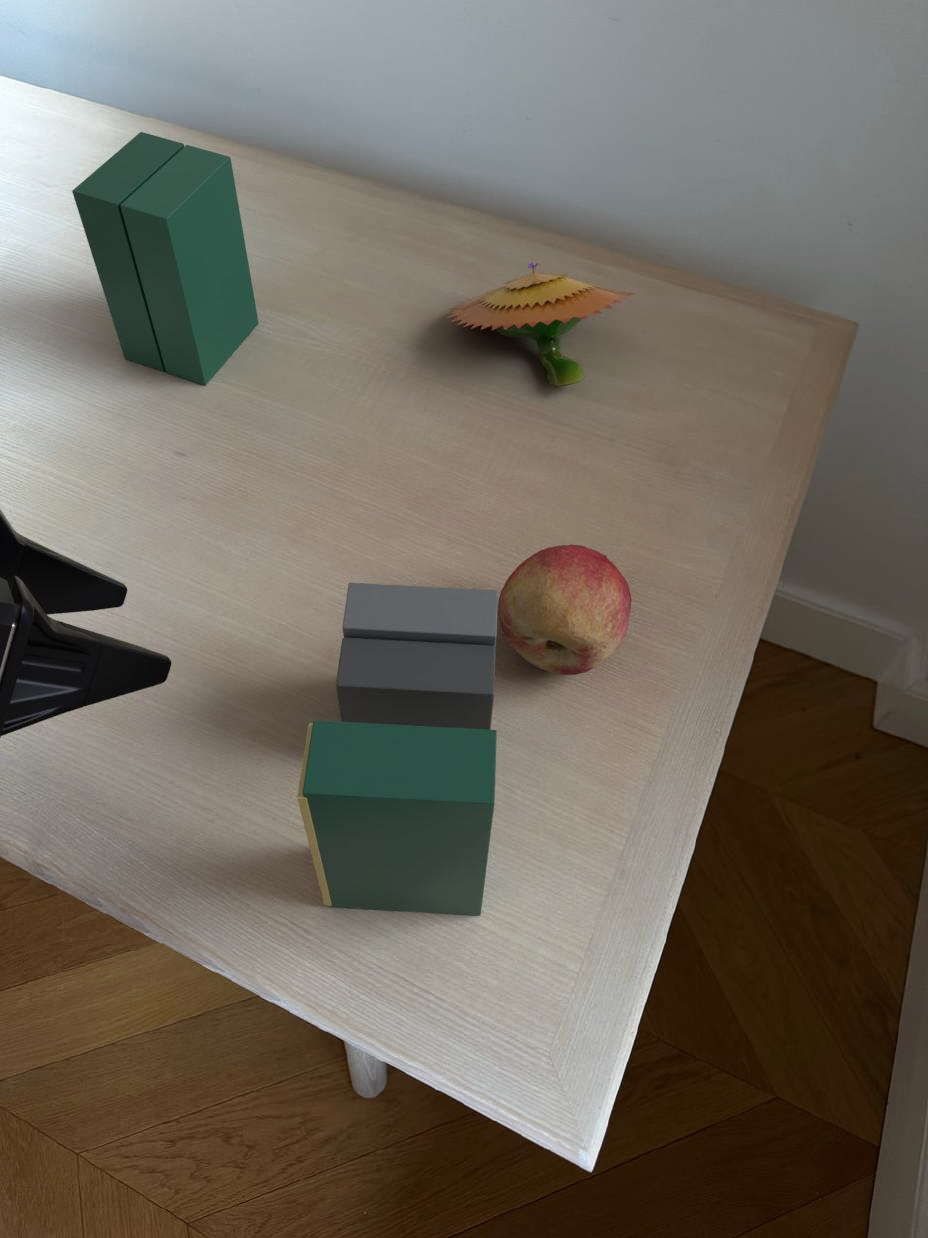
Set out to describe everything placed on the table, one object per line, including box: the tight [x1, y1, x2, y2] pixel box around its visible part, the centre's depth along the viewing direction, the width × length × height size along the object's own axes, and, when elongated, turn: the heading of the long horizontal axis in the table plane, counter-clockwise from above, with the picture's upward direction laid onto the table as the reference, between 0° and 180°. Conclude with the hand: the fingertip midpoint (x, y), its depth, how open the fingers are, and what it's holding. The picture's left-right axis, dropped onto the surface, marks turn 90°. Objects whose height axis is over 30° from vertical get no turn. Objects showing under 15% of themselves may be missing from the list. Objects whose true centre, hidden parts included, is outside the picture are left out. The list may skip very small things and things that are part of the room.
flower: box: [445, 262, 636, 387], centre depth 78 cm, size 15×13×8 cm
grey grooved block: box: [335, 582, 499, 730], centre depth 56 cm, size 8×6×10 cm
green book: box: [296, 719, 498, 916], centre depth 48 cm, size 8×4×14 cm, turn 87°
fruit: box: [497, 543, 632, 676], centre depth 60 cm, size 8×8×8 cm
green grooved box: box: [71, 131, 259, 386], centre depth 73 cm, size 8×7×14 cm
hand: (145, 630), depth 46 cm, fingers open, 9 cm apart
